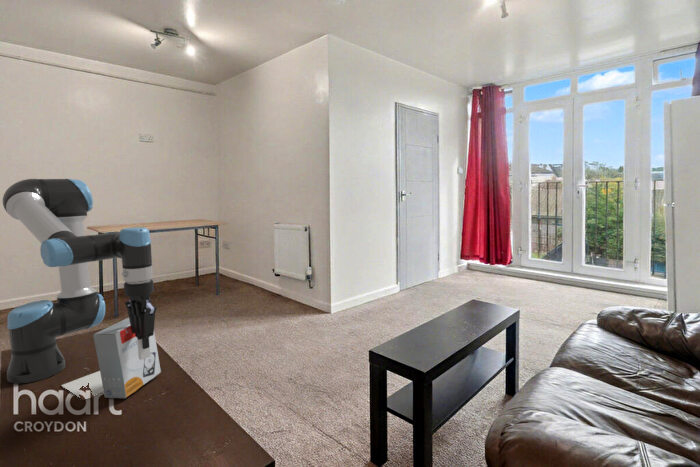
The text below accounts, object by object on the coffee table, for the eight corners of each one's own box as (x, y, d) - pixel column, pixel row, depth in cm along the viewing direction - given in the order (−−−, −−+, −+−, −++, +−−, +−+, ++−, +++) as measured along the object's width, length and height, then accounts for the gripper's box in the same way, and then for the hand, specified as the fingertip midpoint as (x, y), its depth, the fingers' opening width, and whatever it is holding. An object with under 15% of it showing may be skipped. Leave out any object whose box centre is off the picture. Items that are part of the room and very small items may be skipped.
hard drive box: (126, 399, 110) (113, 334, 107) (103, 398, 111) (90, 334, 108) (162, 371, 125) (151, 314, 122) (142, 371, 126) (131, 314, 123)
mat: (61, 386, 118) (61, 385, 118) (112, 367, 131) (112, 366, 131) (83, 401, 110) (83, 399, 110) (135, 378, 123) (135, 377, 123)
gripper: (113, 280, 110) (120, 357, 113) (137, 286, 103) (143, 368, 106) (139, 275, 117) (145, 348, 120) (163, 281, 110) (168, 358, 113)
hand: (144, 357), depth 113 cm, fingers closed
